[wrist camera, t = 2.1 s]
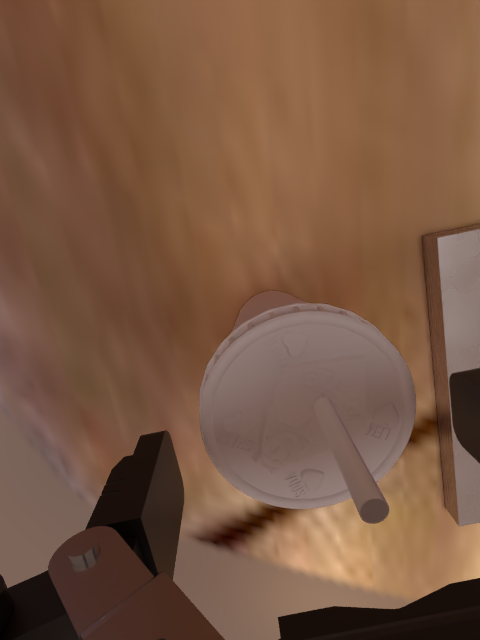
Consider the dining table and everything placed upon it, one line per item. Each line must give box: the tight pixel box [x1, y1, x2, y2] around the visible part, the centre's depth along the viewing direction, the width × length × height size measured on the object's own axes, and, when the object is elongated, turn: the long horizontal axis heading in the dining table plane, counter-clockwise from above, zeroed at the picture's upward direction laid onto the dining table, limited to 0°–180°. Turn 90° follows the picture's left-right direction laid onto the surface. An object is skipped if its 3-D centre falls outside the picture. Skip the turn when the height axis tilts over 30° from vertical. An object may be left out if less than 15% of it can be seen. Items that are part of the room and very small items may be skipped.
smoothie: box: [199, 291, 416, 524], centre depth 15 cm, size 6×6×14 cm
